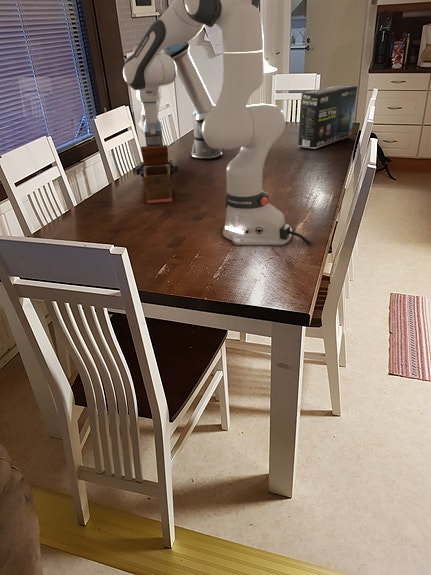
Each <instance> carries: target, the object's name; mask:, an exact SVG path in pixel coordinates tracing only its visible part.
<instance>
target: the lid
mask: <svg viewBox="0 0 431 575" xmlns="http://www.w3.org/2000/svg"><path fill="white" fill-rule="evenodd" d="M156 136H159V141H160V145H159V146H148V138H147V137H156ZM144 137H145V145H144V146H140V151H141V157H142V162H143V163H144V166H154V165H168V164H169V162H168V161H169V151H168V149H169V148H168V144H163V145H162V142H161V131H155V134H151V133H150V131H146V132H145V135H144Z"/></svg>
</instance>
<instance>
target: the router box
mask: <svg viewBox="0 0 431 575" xmlns="http://www.w3.org/2000/svg"><path fill="white" fill-rule="evenodd" d="M357 93H358V86H356V85H350V84H339V85H338V84H337V85H334V86H328V87H324V88H318V89H314V90H309V91H304V92H301V93H300V109H299V110H300V111H299V124H298V137H297V146H298V145H302V146H307V147H317V146H320V145H323V144H325V143H328V142H331V141H333V140H336V139H338V138H341V137H344V136H347V135H351V136H352V133H353V132H352V131H353V125H354V115H355V109H356V99H357ZM311 151H313V150H312V149H311Z"/></svg>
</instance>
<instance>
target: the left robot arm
mask: <svg viewBox="0 0 431 575" xmlns="http://www.w3.org/2000/svg"><path fill="white" fill-rule="evenodd" d="M190 48H191V45H190V43H189V41H186V42H183V43H179V44H175V45H172V46H169V47H167V48H165V49H163V50H161V52H162V53H164V54H166V55H169V56H171V57H172V58H173V60H174V62H175V64H176V69H177V73H176V77H177V78H178V79H179V82H180V83H181V86H182V88H183V89H184V92H185V93H186V96H187V97H188V99H189V101H190V104H191V105H192V107H193V110H192V122H193V138H194V139H193V144H192V149H191V158H193V159H195V160H200V161H202V160H204V161H207V160H208V161H209V160H215V159H216V160H217V159H219V158H221V157H222V156H223V151H222V149H213V148H211V147H209V146H208V145H207V143H206V142H205V140H204V138H203V135H202V124H203V121H204V119H205V117H206V115H207V114H208V113H209V112H210V111H211V110H212V109H213V107H214V106H215V104H214V102H213V101H212V98H211V96H210V94H209V92H208V90H207V88H206V85H205V84H204V81H203V79H202V77H201V75H200V73H199V71H198V69H197V67H196V65H195V62H194V60H193V58H192V56H191V53H190ZM163 86H164V85H162V86H161V94H162V92H163ZM161 98H162V97H161ZM161 98H160V99H159V101H158V104H157V124H156V125H155V131H161V142H162V145H164V139H163V131H162V130H163V125H162V121H161V118H159V112H160V104H161V100H162V99H161ZM138 128H139V131H140V132H141V133H142V134H143V135H144V136H145V132H146V131H150V126H149V125H147V123H146V119H145V114H144V109H143V107H142V109H141V115H140V119H139V121H138ZM147 138H148V146H159V145H160V141H159V136H156V137H147ZM168 162H169V164H168V165H169V171H170V179H173V175H174V174H175V173H178V172H179V167H178V165H177V164H176V163H175V162H173V160H172V159H170V160H168ZM154 166H159V165H154ZM144 167H146V166H144V163H143V161H141V162H140V163H139V164H138V166H137V167H136V168H135V173H136V174H135V175H136V176H139V175H140V177H141V178H143V180H144Z"/></svg>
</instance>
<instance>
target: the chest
mask: <svg viewBox="0 0 431 575" xmlns="http://www.w3.org/2000/svg"><path fill="white" fill-rule="evenodd" d="M171 179H172V178H170V171H169V165H159V166H146V167H144V179H143V182H144V190H145V197H146V204H154V203H169V202H173V190H172V181H171Z"/></svg>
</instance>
